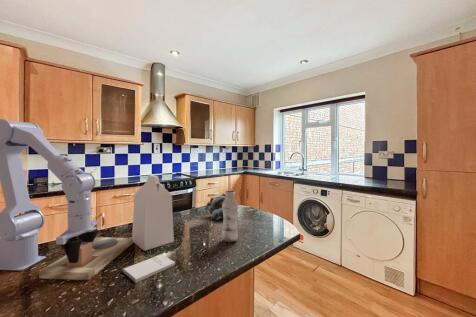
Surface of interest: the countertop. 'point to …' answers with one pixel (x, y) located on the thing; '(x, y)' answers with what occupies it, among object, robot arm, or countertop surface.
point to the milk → (152, 215)
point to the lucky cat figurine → (216, 207)
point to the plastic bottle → (230, 217)
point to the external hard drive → (148, 268)
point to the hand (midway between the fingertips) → (79, 258)
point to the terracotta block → (83, 255)
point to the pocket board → (101, 256)
